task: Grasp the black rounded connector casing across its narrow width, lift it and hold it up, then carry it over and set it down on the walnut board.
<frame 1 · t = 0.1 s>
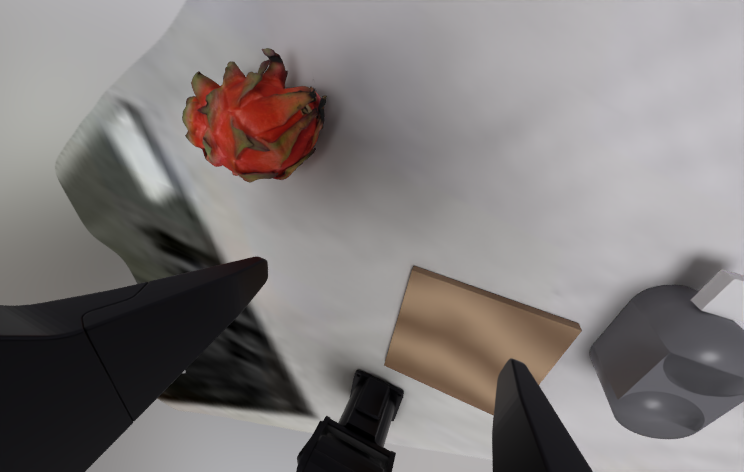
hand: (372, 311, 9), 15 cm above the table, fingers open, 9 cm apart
board: (464, 345, 27), on the table
dragon fruit: (290, 120, 24), on the table
connector: (643, 334, 20), on the table
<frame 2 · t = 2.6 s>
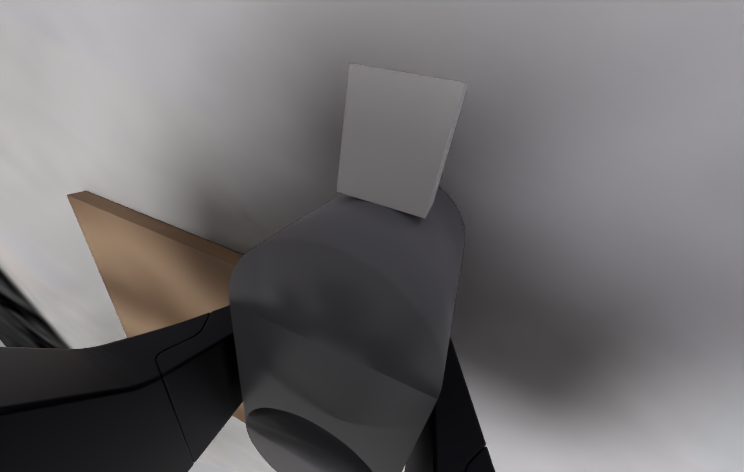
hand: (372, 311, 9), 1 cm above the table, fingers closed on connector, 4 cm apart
board: (198, 324, 17), on the table
connector: (384, 290, 10), on the table, touching gripper
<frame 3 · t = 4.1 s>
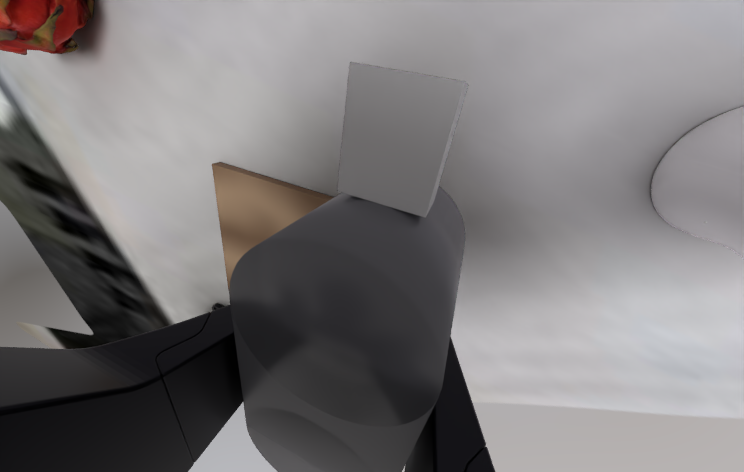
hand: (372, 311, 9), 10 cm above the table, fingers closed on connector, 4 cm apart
board: (288, 255, 25), on the table
connector: (384, 290, 10), point 9 cm above the table, touching gripper
beer glass: (735, 173, 12), on the table
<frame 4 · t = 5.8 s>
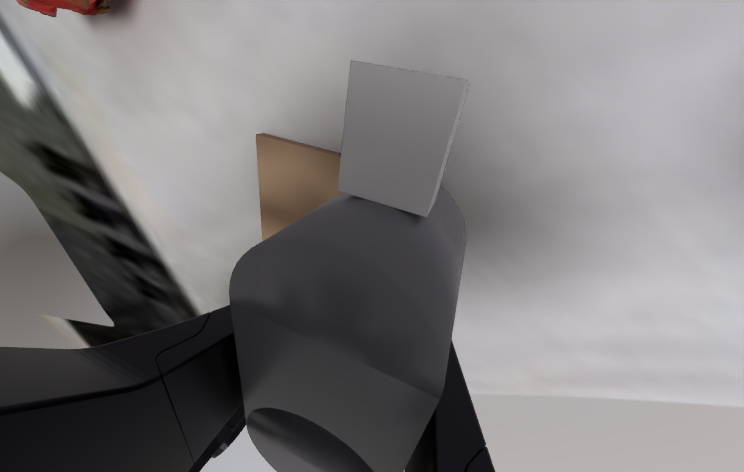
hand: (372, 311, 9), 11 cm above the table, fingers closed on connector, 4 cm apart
board: (334, 236, 23), on the table
connector: (384, 290, 10), point 10 cm above the table, touching gripper
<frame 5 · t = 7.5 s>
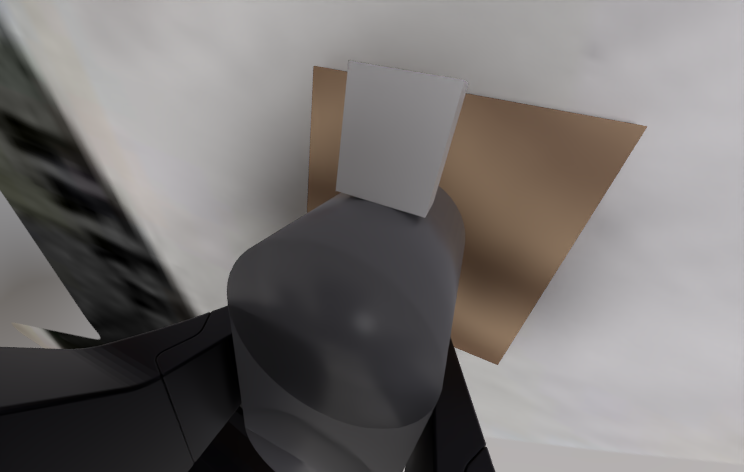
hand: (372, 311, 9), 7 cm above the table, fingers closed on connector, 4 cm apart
board: (419, 227, 16), on the table
connector: (383, 290, 10), point 6 cm above the table, touching gripper
when the fingers open (3 cm above the table, at t = 8.8 s): connector stays where it is, resting on board.
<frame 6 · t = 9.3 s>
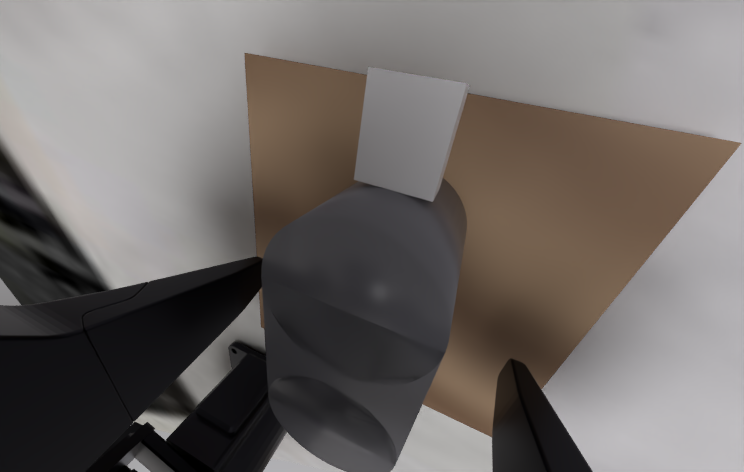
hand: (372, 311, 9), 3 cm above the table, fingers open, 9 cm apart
board: (397, 267, 12), on the table
connector: (391, 276, 11), point 1 cm above the table, touching board
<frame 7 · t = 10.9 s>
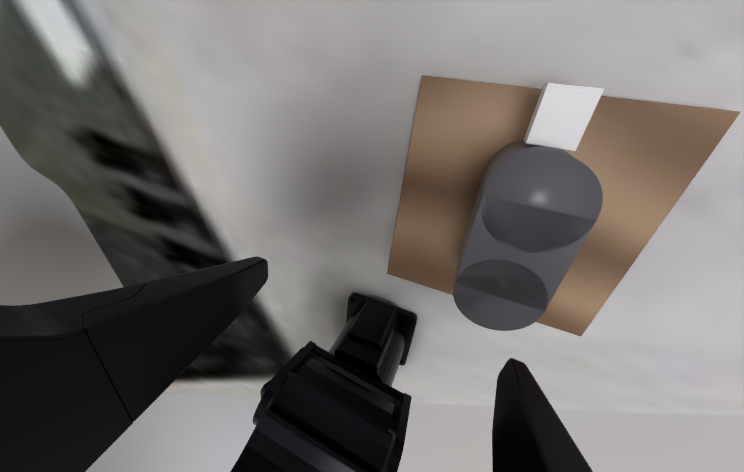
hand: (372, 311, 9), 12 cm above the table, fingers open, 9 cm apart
board: (508, 213, 17), on the table
connector: (508, 217, 17), point 1 cm above the table, touching board
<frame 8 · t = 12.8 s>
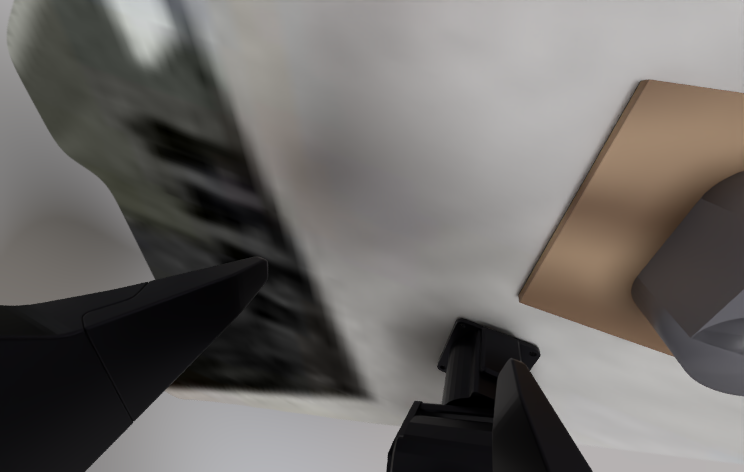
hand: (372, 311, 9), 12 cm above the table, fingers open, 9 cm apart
board: (705, 246, 15), on the table
connector: (715, 253, 14), point 1 cm above the table, touching board
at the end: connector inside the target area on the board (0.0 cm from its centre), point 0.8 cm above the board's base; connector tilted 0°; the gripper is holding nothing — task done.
